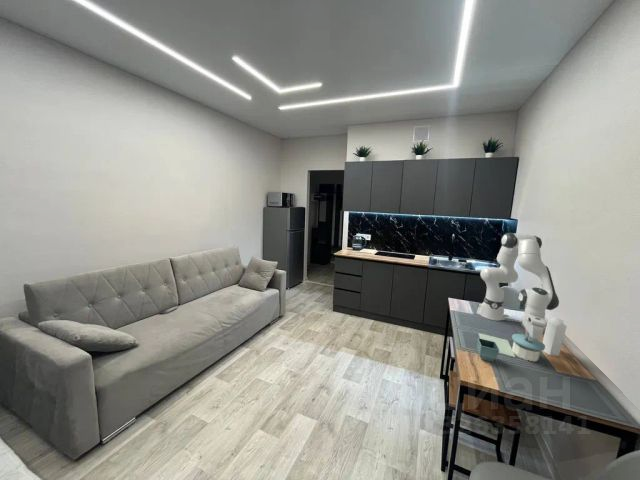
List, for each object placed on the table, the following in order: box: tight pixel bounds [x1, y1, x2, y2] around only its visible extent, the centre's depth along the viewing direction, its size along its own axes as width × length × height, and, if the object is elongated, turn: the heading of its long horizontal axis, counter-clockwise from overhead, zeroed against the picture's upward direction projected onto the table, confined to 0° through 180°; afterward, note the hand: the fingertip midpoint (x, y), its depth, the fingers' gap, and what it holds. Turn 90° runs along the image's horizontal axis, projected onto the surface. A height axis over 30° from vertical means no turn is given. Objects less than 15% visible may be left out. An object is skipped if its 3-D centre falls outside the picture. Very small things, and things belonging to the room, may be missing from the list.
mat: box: [478, 332, 517, 359], centre depth 158 cm, size 20×16×1 cm
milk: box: [541, 316, 567, 356], centre depth 153 cm, size 6×6×22 cm
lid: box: [511, 332, 545, 352], centre depth 148 cm, size 15×15×5 cm
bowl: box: [511, 341, 541, 362], centre depth 150 cm, size 12×12×6 cm
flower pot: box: [476, 337, 499, 362], centre depth 143 cm, size 9×9×9 cm
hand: (528, 338), depth 148 cm, fingers closed on lid, 3 cm apart
